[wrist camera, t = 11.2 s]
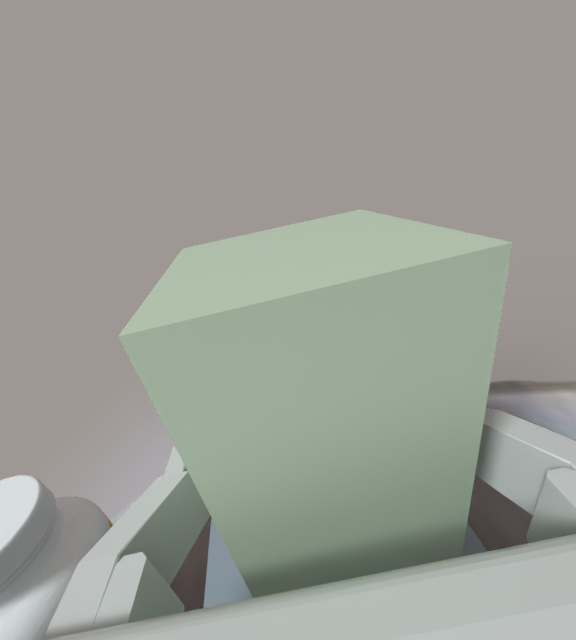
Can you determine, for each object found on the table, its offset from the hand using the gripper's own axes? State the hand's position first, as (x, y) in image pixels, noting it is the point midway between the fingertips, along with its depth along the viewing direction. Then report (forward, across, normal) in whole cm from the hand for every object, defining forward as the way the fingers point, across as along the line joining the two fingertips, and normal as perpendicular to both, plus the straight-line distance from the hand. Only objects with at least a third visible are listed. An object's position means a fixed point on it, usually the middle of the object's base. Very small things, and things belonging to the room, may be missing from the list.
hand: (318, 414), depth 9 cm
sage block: (-1, 0, +6) cm, 7 cm away
